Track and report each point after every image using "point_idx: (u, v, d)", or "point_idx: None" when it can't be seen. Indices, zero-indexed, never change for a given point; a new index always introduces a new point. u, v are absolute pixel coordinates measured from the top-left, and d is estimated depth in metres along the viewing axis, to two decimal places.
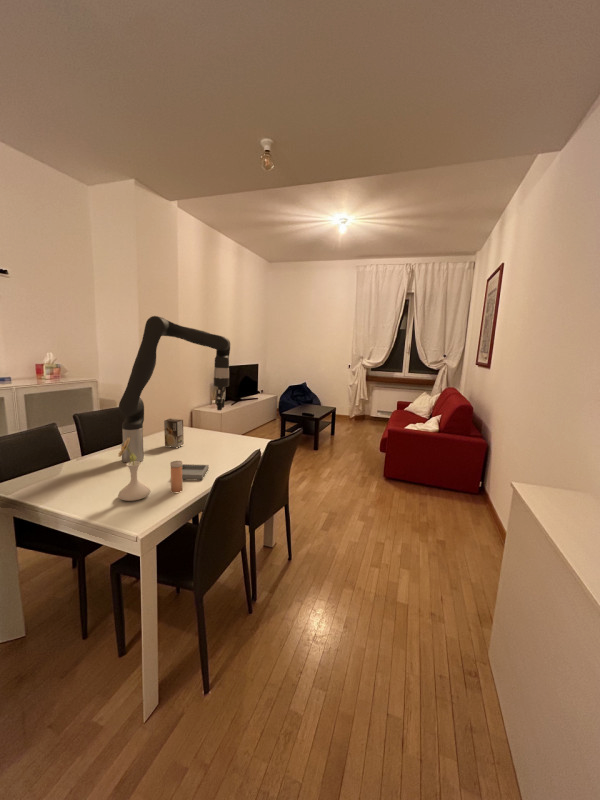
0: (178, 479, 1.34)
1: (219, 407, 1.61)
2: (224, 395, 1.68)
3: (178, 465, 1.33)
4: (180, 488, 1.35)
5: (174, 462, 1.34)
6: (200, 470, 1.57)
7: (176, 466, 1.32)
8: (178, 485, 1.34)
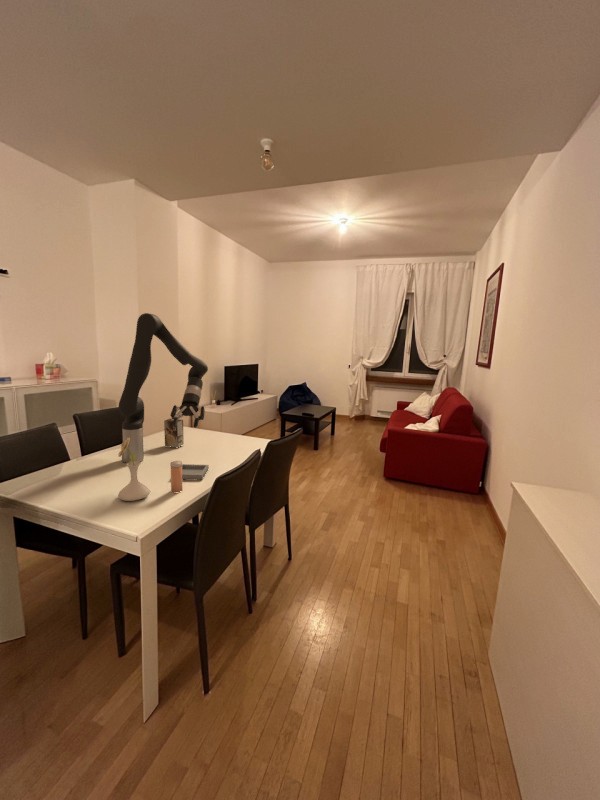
0: (178, 479, 1.34)
1: None
2: (183, 415, 1.49)
3: (178, 465, 1.33)
4: (180, 488, 1.35)
5: (174, 462, 1.34)
6: (200, 470, 1.57)
7: (176, 466, 1.32)
8: (178, 484, 1.34)
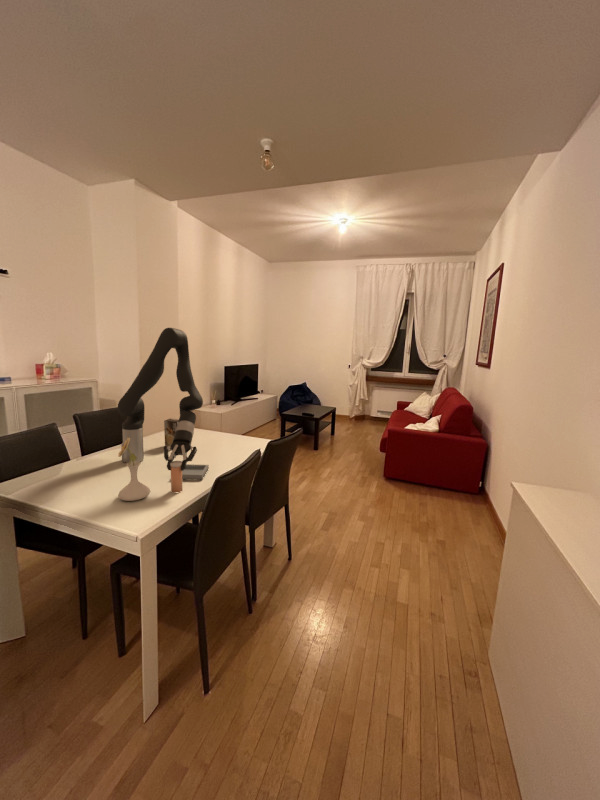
0: (178, 479, 1.34)
1: None
2: (176, 455, 1.39)
3: (178, 465, 1.33)
4: (180, 488, 1.35)
5: (174, 462, 1.34)
6: (200, 470, 1.57)
7: (176, 466, 1.32)
8: (178, 484, 1.34)
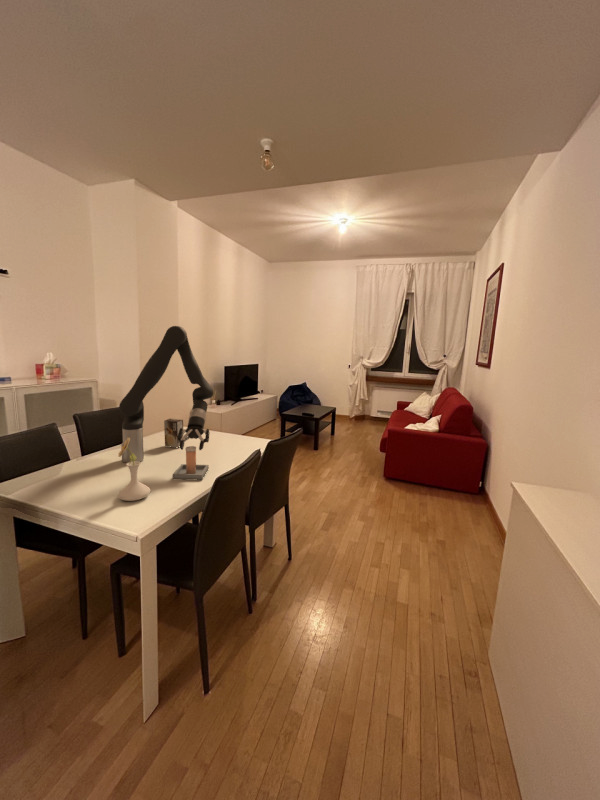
0: (193, 462, 1.51)
1: None
2: None
3: (192, 450, 1.50)
4: (194, 470, 1.53)
5: (189, 447, 1.52)
6: (200, 470, 1.57)
7: (191, 450, 1.50)
8: (192, 467, 1.52)
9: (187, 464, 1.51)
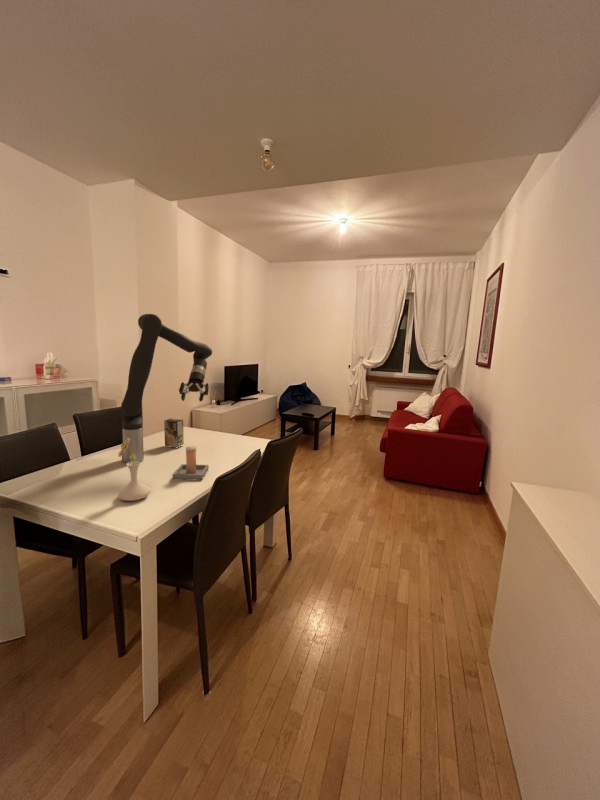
0: (193, 462, 1.51)
1: None
2: (190, 391, 1.69)
3: (193, 449, 1.50)
4: (194, 470, 1.53)
5: (189, 447, 1.52)
6: (200, 470, 1.57)
7: (191, 450, 1.50)
8: (192, 467, 1.52)
9: (187, 464, 1.51)
